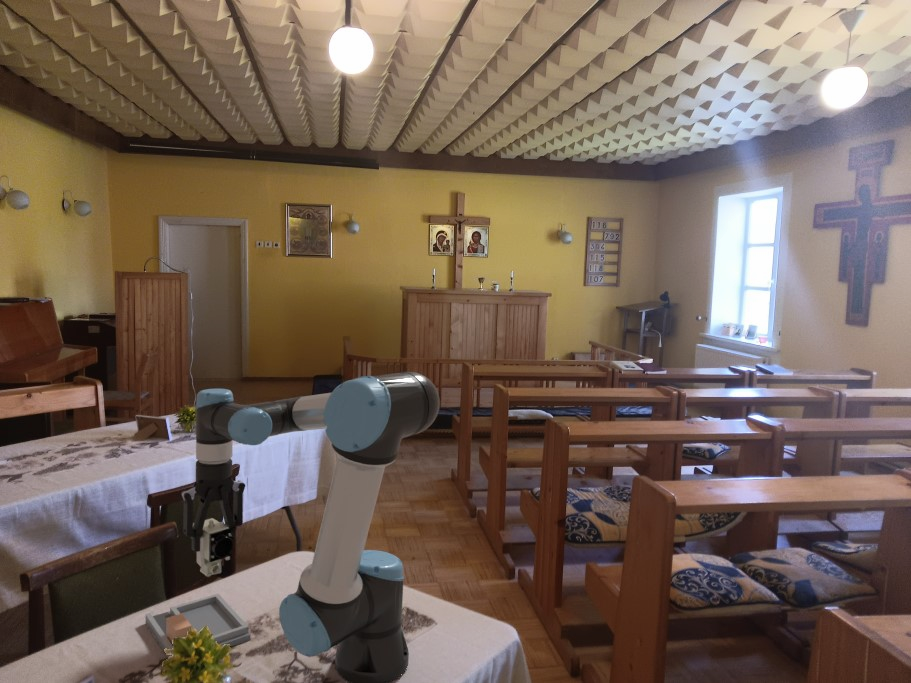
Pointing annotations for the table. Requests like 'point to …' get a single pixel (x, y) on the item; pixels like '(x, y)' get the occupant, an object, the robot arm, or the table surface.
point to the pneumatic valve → (215, 545)
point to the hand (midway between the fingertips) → (213, 560)
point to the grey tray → (203, 621)
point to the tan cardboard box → (176, 627)
